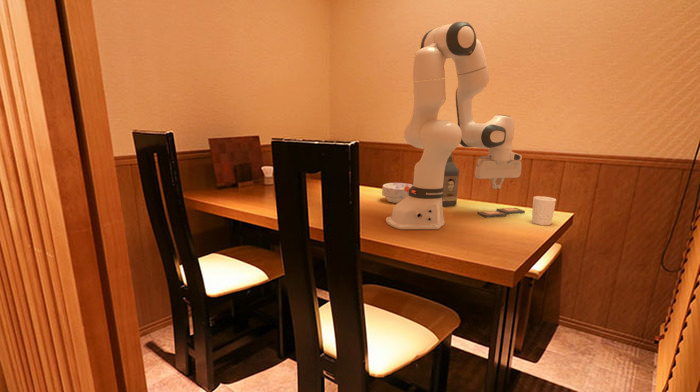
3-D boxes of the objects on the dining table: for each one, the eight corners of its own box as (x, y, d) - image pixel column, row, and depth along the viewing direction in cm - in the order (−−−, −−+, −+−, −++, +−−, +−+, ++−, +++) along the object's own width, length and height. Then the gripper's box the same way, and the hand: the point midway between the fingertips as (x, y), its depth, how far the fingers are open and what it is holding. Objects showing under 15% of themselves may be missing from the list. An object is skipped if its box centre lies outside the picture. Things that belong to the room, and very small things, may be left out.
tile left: (485, 217, 152) (486, 214, 152) (477, 214, 158) (477, 211, 157) (506, 216, 155) (506, 213, 155) (496, 212, 160) (497, 210, 160)
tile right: (505, 214, 158) (505, 211, 158) (496, 210, 164) (496, 208, 164) (524, 213, 161) (525, 210, 161) (515, 209, 167) (515, 207, 166)
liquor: (431, 202, 176) (435, 139, 170) (448, 202, 178) (453, 139, 172) (440, 207, 168) (445, 140, 161) (458, 206, 170) (464, 141, 163)
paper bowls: (378, 203, 173) (379, 186, 171) (385, 197, 187) (386, 181, 186) (411, 206, 169) (412, 189, 167) (415, 199, 183) (416, 183, 181)
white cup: (556, 226, 142) (559, 201, 140) (534, 225, 143) (537, 200, 141) (547, 220, 150) (551, 196, 147) (527, 219, 150) (530, 195, 148)
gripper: (482, 156, 146) (479, 191, 149) (525, 156, 151) (521, 189, 154) (473, 155, 151) (470, 188, 154) (514, 154, 157) (511, 186, 160)
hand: (496, 188), depth 154 cm, fingers closed
